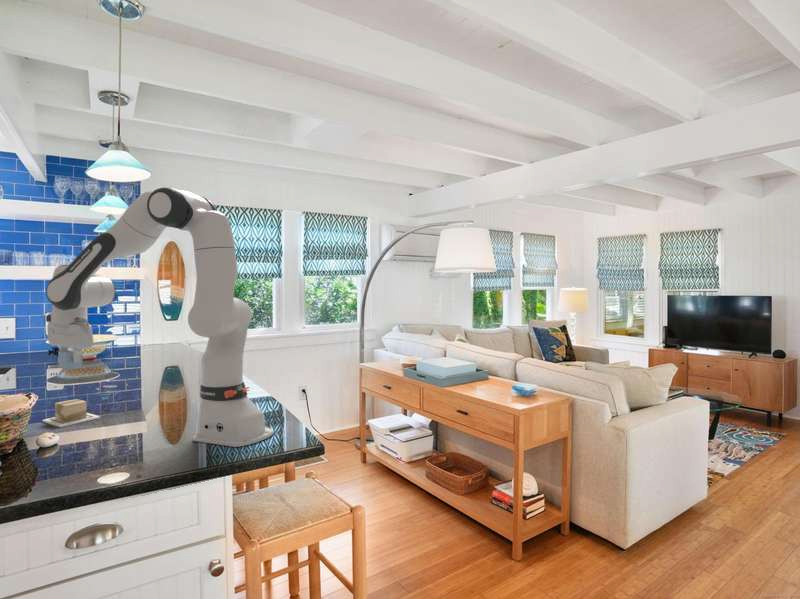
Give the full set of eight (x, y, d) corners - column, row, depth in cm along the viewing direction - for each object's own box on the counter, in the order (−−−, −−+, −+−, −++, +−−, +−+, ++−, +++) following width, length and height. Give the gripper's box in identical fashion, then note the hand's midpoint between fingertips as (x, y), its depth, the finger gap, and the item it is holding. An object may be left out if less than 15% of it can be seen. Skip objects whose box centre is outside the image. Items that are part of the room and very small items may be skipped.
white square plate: (99, 418, 145) (99, 416, 145) (60, 427, 135) (60, 425, 135) (81, 413, 150) (81, 411, 150) (42, 421, 141) (42, 419, 141)
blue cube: (82, 366, 143) (82, 350, 143) (65, 368, 139) (65, 352, 139) (75, 365, 145) (74, 349, 145) (58, 367, 141) (58, 351, 141)
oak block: (86, 417, 144) (86, 401, 143) (65, 422, 138) (64, 405, 138) (76, 414, 146) (76, 398, 146) (55, 419, 141) (55, 403, 141)
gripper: (99, 318, 139) (99, 363, 140) (65, 315, 149) (66, 357, 150) (76, 319, 134) (76, 366, 134) (42, 316, 144) (43, 360, 144)
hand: (70, 361), depth 142 cm, fingers closed on blue cube, 5 cm apart
